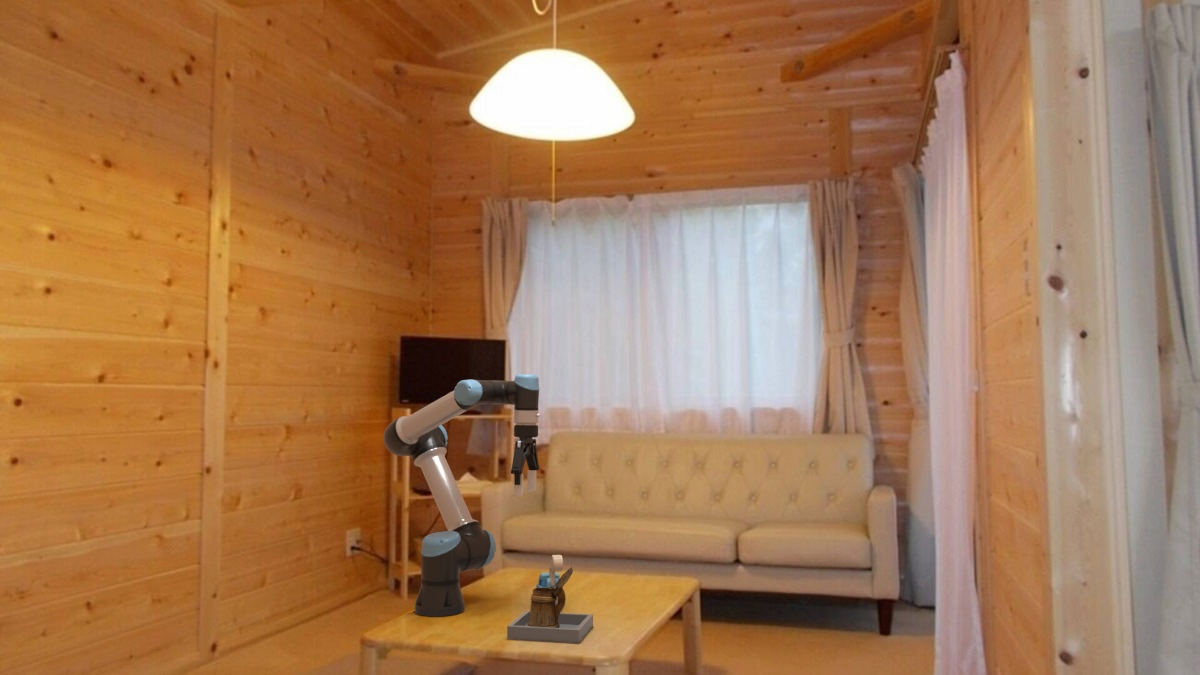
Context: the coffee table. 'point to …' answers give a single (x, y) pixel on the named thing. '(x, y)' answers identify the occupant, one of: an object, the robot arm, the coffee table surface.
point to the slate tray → (552, 629)
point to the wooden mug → (548, 604)
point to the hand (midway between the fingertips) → (525, 493)
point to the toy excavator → (551, 574)
